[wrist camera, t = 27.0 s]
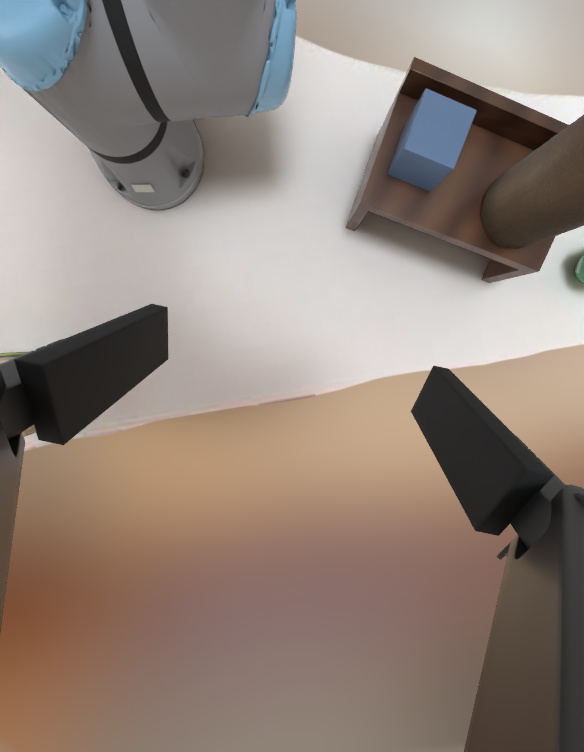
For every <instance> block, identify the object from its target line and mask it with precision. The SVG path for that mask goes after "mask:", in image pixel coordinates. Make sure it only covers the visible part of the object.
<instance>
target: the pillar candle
mask: <svg viewBox="0 0 584 752" xmlns="http://www.w3.org/2000/svg"><path fill="white" fill-rule="evenodd" d="M481 221H482V226H483V228H484V230H485V233H487V235H488V237H489V238H490V239H491V240H492V241H493V242H495V243H496V244H498V245H499V246H501V247H503V248H516V249H517V248H522V247H526V246H529V245H531V244H534V243H537V242H540V241H542V240H545V239H548V238H551V237H553V236H556V235H559V234H561V233H564V232H567V231H570V230H573V229H576V228H578V227H581V226H583V225H584V115H583V116H581V117H580V118H579V119H577V120H576V121H575V122H573V123H572V124H570V125H569V126H568V127H567V128H565V129H564V130H562V131H561V132H559V133H558V134H557V135H555V136H554V137H552V138H551V139H550V140H549V141H547V142H546V143H544V144H543V145H542V146H540V147H539V148H537V149H536V150H535V151H533V152H532V153H530V154H529V155H528V156H527V157H525V158H524V159H522V160H521V161H520V162H518V163H517V164H515V165H514V166H513V167H511V168H510V169H508V170H507V171H506V172H505V173H503V174H502V175H501V176H500V177H498V178H497V179H496V180H495V181H494V182H493V184H492V185H491V186H490V187H489V189H488V191H487V192H486V195H485V197H484V200H483V205H482V210H481Z"/></svg>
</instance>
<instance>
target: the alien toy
mask: <svg viewBox="0 0 584 752" xmlns="http://www.w3.org/2000/svg"><path fill="white" fill-rule="evenodd" d="M575 273H576V276H577V278H578V279H579V280H580V281H581V282H583V283H584V255H583V256H581V257H580V259H579V260H578V262H577V264H576V268H575Z"/></svg>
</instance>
